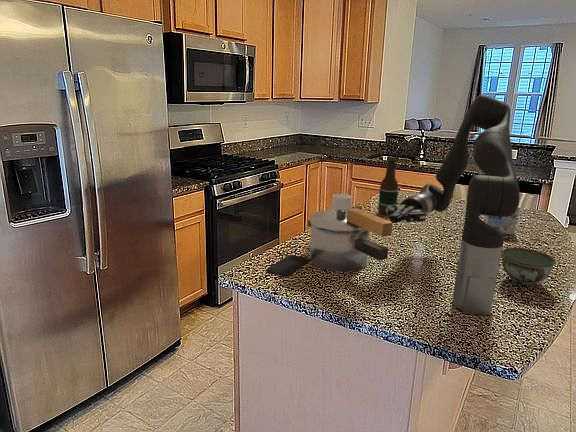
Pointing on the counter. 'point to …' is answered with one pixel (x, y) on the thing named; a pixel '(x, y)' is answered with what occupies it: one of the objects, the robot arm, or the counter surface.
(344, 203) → the drinking glass
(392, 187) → the beer bottle
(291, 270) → the phone
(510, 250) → the bowl
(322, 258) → the pot
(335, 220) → the lid
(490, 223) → the light bulb box
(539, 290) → the counter surface
